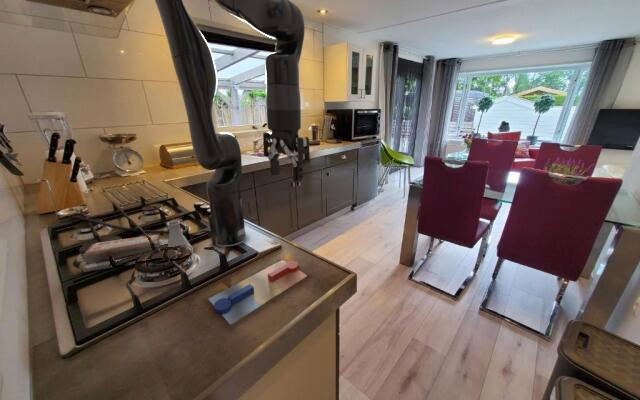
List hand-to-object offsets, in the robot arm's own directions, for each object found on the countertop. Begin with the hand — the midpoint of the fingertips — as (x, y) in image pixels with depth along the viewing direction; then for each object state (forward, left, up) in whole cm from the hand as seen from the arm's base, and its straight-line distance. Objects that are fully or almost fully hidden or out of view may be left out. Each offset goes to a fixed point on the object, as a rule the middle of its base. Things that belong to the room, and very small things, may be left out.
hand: (286, 177), depth 61 cm
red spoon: (-1, -7, -24) cm, 24 cm away
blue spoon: (-9, -16, -24) cm, 30 cm away
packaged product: (-45, 0, -24) cm, 51 cm away
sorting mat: (-5, -12, -24) cm, 27 cm away
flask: (-32, +2, -24) cm, 40 cm away
